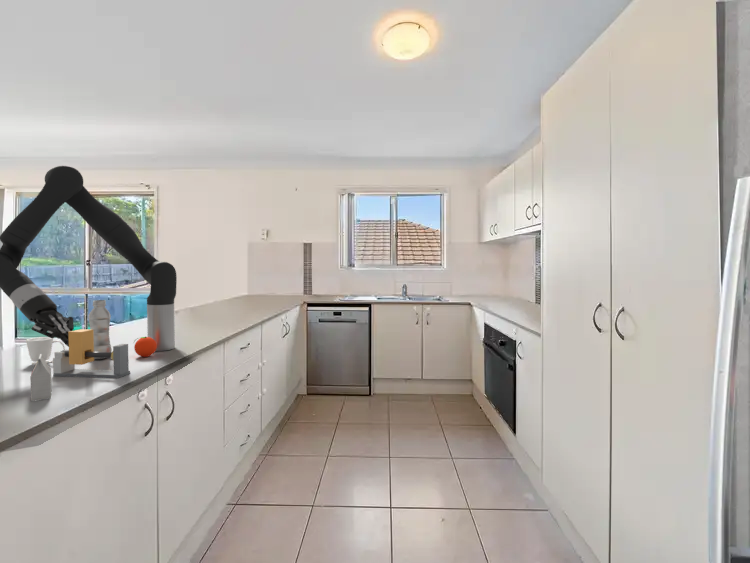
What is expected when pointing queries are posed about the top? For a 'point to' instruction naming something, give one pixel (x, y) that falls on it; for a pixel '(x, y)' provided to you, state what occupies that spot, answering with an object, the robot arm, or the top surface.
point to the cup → (40, 348)
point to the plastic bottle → (100, 327)
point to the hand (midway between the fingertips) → (73, 344)
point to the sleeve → (80, 346)
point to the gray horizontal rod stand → (66, 369)
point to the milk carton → (41, 380)
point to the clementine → (145, 346)
